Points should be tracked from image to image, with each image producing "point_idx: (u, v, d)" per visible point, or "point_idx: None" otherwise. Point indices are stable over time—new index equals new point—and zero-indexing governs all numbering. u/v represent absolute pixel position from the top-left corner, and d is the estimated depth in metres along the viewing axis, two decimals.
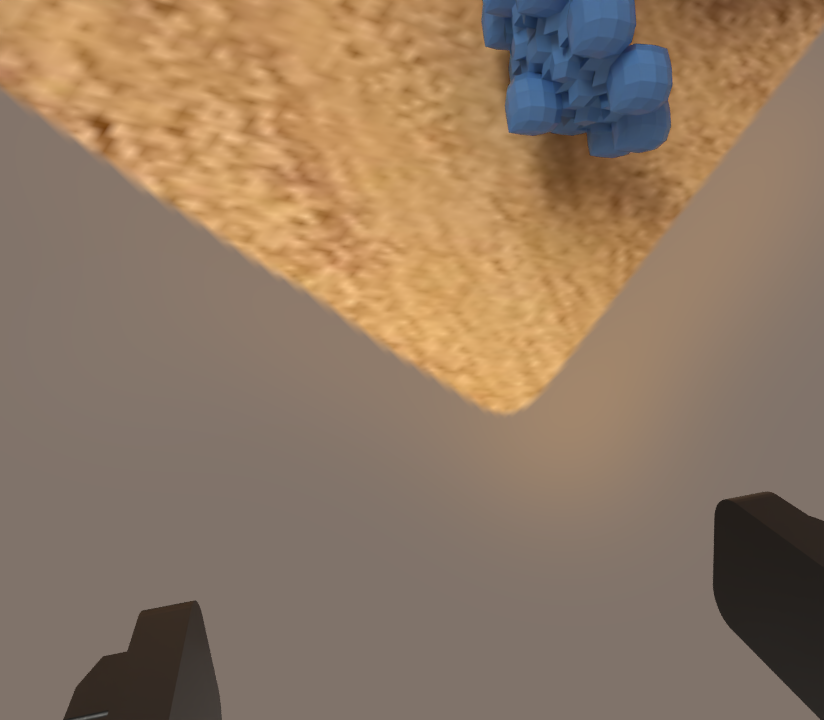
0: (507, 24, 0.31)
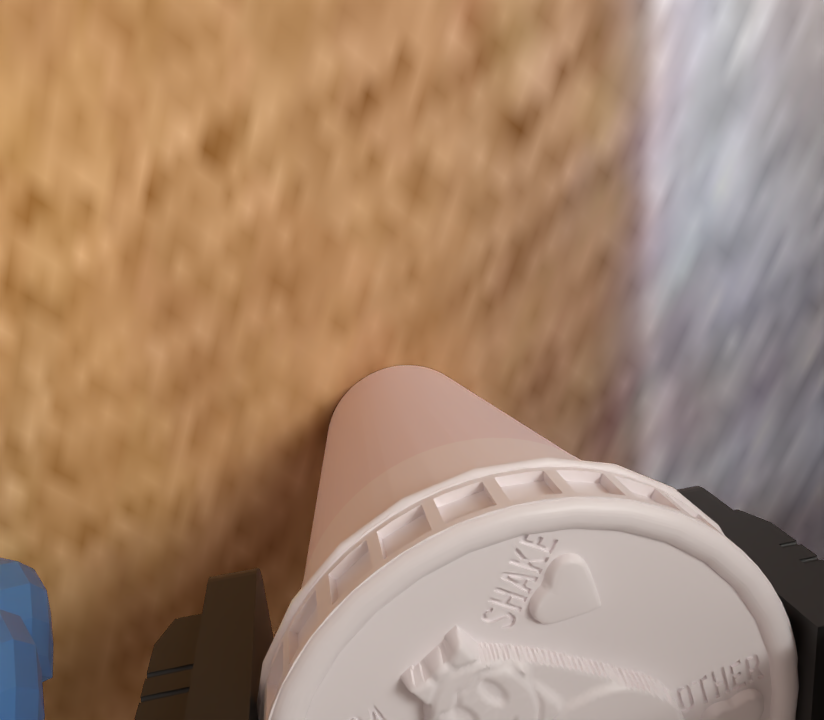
0: None
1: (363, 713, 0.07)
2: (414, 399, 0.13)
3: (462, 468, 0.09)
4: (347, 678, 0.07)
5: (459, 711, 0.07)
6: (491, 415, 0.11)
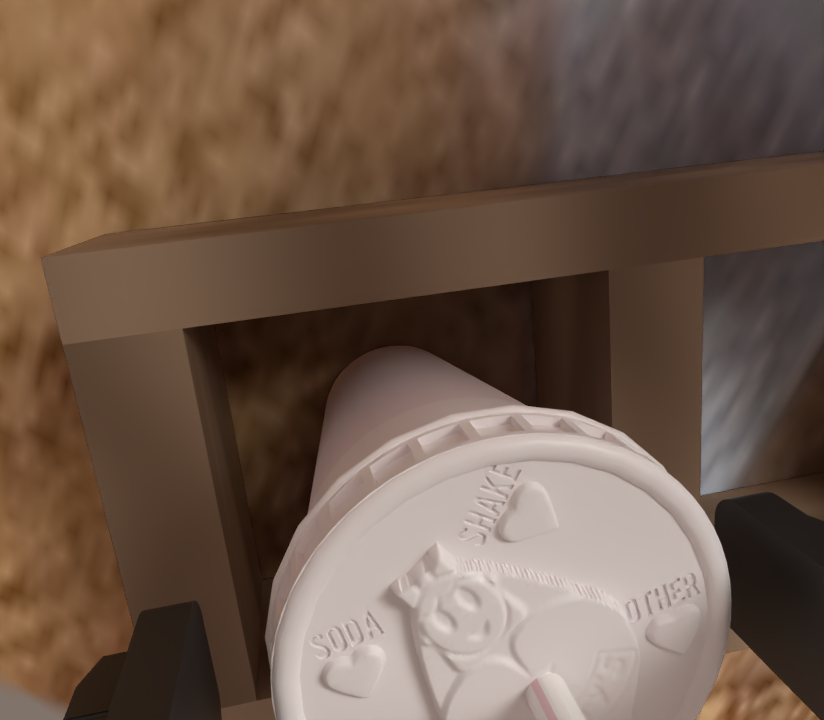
0: None
1: (359, 617, 0.09)
2: (404, 371, 0.14)
3: None
4: (345, 586, 0.08)
5: (439, 614, 0.08)
6: (472, 382, 0.13)
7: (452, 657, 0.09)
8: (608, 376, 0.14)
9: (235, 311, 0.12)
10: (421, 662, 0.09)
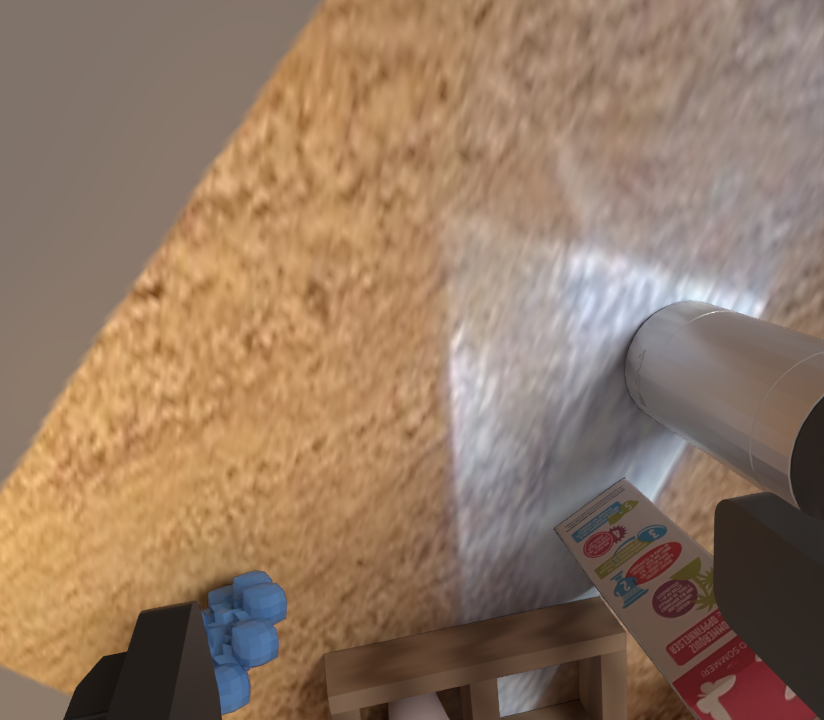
0: (240, 602, 0.44)
1: None
2: (414, 707, 0.50)
3: None
4: None
5: None
6: (432, 718, 0.49)
7: None
8: (471, 707, 0.50)
9: (372, 703, 0.49)
10: None
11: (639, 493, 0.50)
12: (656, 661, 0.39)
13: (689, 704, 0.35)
